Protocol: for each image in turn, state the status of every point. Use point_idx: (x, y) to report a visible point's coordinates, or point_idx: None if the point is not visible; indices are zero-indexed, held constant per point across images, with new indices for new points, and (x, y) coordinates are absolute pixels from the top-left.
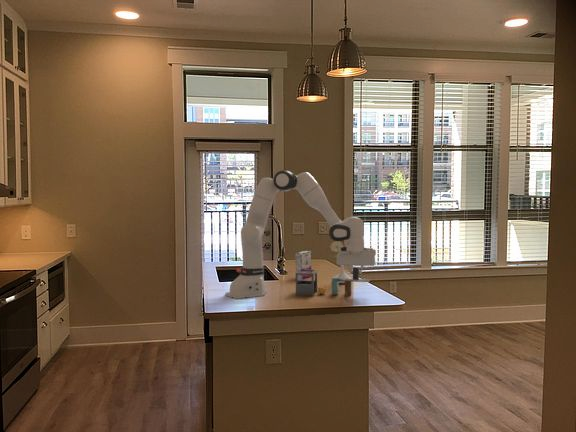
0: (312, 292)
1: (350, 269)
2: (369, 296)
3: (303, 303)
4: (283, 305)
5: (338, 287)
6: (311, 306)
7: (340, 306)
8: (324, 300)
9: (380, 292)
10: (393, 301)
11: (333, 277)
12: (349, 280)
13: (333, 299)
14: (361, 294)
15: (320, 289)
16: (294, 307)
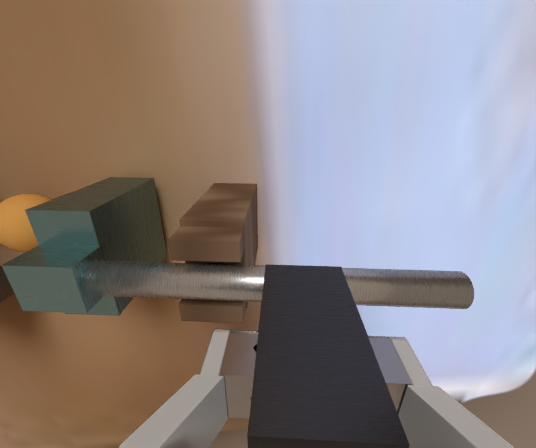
0: (8, 291)
1: (209, 445)
2: (387, 239)
3: (70, 400)
4: (14, 426)
5: (135, 197)
6: (123, 432)
7: (237, 427)
8: (136, 351)
9: (516, 72)
10: (510, 341)
11: (18, 274)
12: (232, 322)
13: (174, 330)
14: (333, 183)
15: (22, 251)
16: (70, 444)
